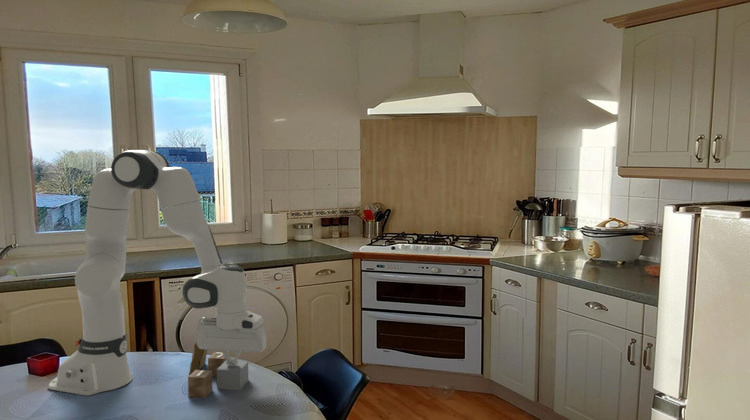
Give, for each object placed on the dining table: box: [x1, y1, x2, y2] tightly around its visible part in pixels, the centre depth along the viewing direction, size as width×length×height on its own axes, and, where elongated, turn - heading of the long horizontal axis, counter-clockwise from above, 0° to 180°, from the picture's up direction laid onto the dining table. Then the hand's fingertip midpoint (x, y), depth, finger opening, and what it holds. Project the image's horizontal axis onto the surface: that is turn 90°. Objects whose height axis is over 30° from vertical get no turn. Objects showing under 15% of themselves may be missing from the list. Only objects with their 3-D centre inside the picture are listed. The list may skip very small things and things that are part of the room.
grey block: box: [216, 360, 249, 391], centre depth 161 cm, size 7×7×6 cm
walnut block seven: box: [207, 351, 231, 378], centre depth 169 cm, size 5×5×6 cm
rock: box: [188, 342, 208, 375], centre depth 172 cm, size 11×9×10 cm
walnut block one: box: [187, 369, 214, 399], centre depth 155 cm, size 5×5×6 cm
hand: (232, 364), depth 161 cm, fingers closed
